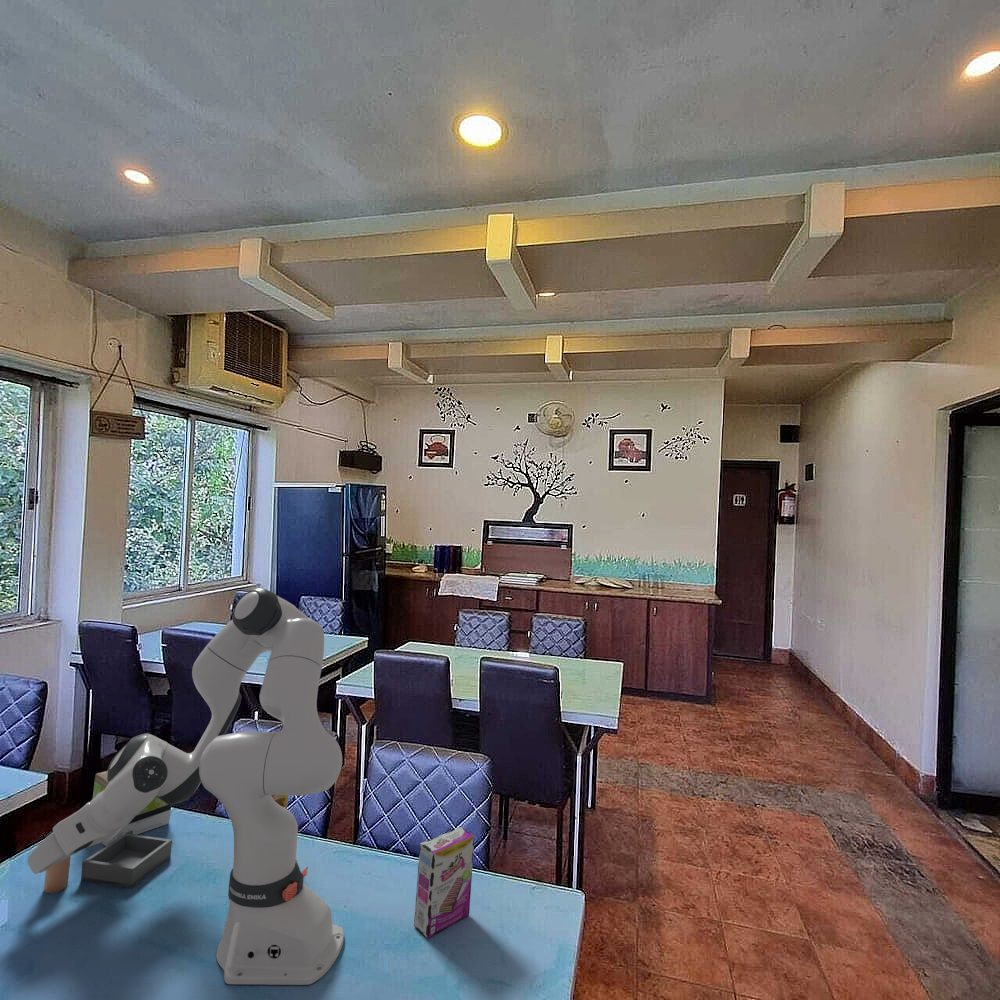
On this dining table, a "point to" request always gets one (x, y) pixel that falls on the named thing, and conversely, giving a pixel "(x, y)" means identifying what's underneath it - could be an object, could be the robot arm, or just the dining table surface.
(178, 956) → the dining table surface
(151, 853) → the charcoal bin
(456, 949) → the dining table surface
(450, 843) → the candy bar box
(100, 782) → the tea box
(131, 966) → the dining table surface
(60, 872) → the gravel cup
